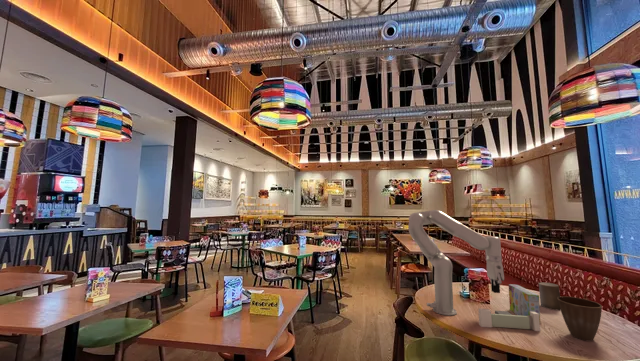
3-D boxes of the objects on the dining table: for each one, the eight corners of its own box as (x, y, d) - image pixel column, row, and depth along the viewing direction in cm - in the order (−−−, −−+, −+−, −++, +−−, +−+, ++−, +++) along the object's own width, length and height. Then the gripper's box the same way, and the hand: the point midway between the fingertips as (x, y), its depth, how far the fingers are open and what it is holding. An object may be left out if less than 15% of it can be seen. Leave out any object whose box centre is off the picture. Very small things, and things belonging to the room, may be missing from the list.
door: (492, 326, 131) (491, 314, 131) (491, 325, 132) (490, 312, 133) (533, 329, 128) (532, 316, 129) (531, 328, 130) (529, 315, 130)
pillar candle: (566, 310, 155) (563, 284, 157) (549, 309, 155) (546, 283, 158) (551, 304, 165) (549, 280, 167) (536, 304, 165) (534, 279, 167)
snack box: (542, 325, 134) (539, 295, 135) (529, 324, 135) (527, 294, 137) (519, 310, 154) (517, 284, 156) (509, 309, 155) (507, 283, 157)
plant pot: (614, 343, 116) (610, 305, 118) (592, 347, 112) (588, 308, 114) (573, 328, 130) (570, 295, 132) (552, 332, 126) (549, 297, 128)
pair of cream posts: (481, 327, 131) (480, 310, 132) (478, 324, 134) (478, 308, 135) (540, 331, 127) (539, 314, 128) (536, 328, 130) (534, 311, 131)
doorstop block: (502, 325, 133) (501, 315, 134) (495, 320, 140) (494, 310, 140) (515, 326, 132) (514, 316, 133) (507, 321, 139) (506, 311, 140)
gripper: (508, 261, 140) (511, 297, 138) (493, 256, 155) (495, 288, 153) (493, 260, 141) (495, 296, 139) (480, 256, 156) (482, 287, 154)
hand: (495, 292), depth 146 cm, fingers closed
